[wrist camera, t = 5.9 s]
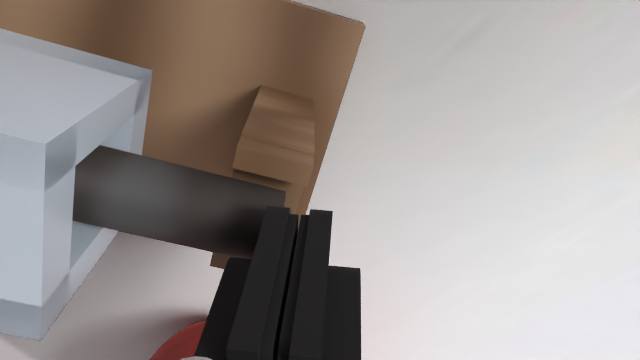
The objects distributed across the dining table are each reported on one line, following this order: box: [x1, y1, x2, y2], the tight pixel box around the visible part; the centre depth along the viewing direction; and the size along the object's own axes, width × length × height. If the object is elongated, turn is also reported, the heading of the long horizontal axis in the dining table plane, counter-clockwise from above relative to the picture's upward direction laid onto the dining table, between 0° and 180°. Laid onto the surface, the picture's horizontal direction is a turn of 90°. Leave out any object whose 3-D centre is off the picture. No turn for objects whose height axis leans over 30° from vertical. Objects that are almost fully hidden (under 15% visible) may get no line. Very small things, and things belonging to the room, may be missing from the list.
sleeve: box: [0, 28, 153, 341], centre depth 11 cm, size 5×5×6 cm
